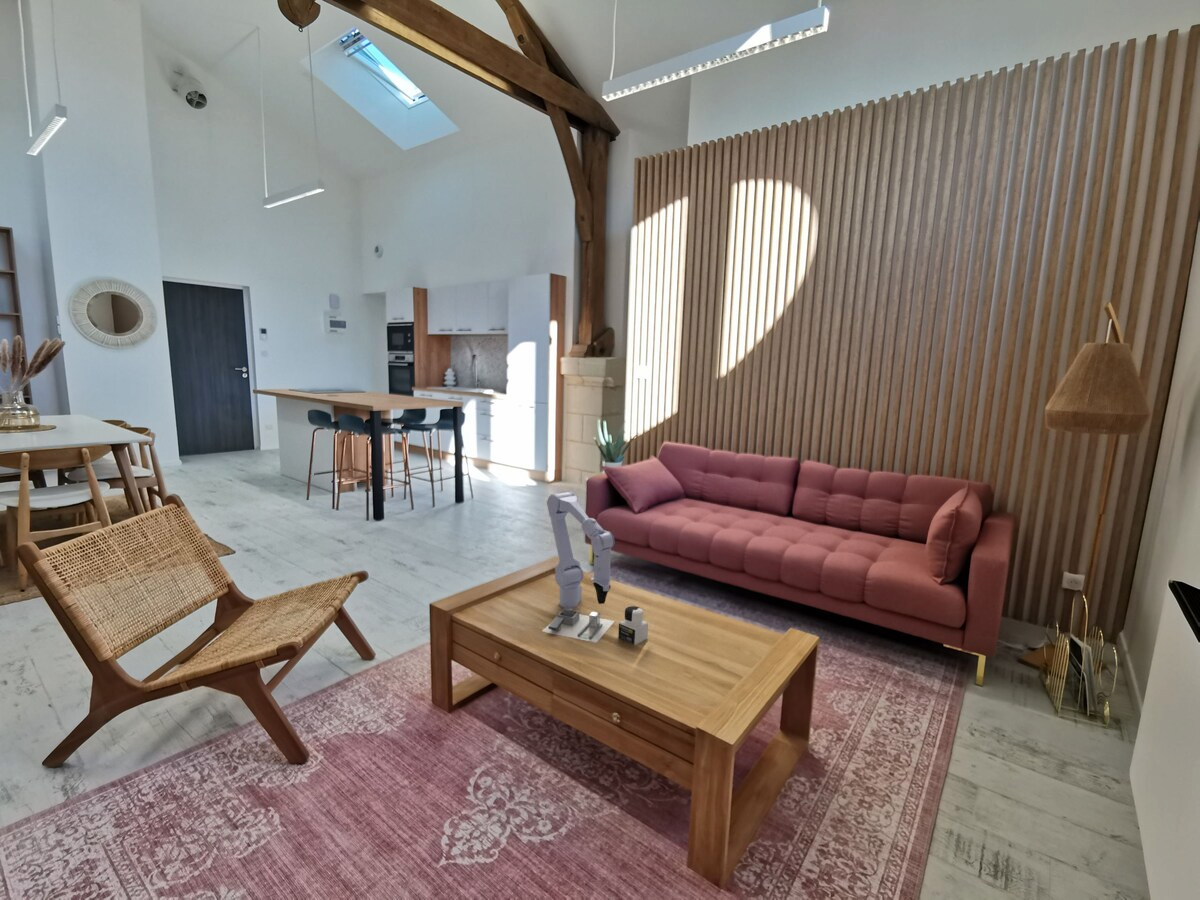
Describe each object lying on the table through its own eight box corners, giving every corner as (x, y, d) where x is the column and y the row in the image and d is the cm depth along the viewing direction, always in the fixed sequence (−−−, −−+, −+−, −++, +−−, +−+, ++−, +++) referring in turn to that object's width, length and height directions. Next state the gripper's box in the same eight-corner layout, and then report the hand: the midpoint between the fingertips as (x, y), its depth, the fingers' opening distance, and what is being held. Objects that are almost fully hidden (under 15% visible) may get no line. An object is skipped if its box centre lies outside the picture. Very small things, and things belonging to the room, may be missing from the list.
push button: (565, 616, 211) (565, 606, 210) (575, 618, 209) (576, 608, 209) (560, 621, 207) (561, 610, 207) (571, 623, 206) (571, 612, 205)
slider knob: (592, 622, 207) (592, 611, 206) (600, 624, 206) (600, 613, 205) (588, 625, 204) (589, 615, 203) (597, 627, 203) (597, 616, 202)
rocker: (556, 619, 204) (555, 616, 204) (563, 620, 203) (563, 618, 203) (548, 628, 199) (548, 626, 199) (556, 630, 198) (556, 628, 198)
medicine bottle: (617, 642, 197) (618, 608, 195) (631, 635, 202) (632, 602, 200) (634, 649, 192) (635, 614, 190) (647, 642, 197) (649, 608, 195)
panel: (563, 615, 217) (563, 603, 216) (614, 624, 210) (614, 613, 209) (541, 635, 200) (541, 623, 199) (596, 646, 193) (596, 634, 192)
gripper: (587, 560, 214) (586, 595, 216) (595, 574, 200) (594, 612, 202) (606, 559, 215) (604, 594, 217) (615, 573, 201) (614, 610, 203)
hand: (601, 602), depth 209 cm, fingers closed
